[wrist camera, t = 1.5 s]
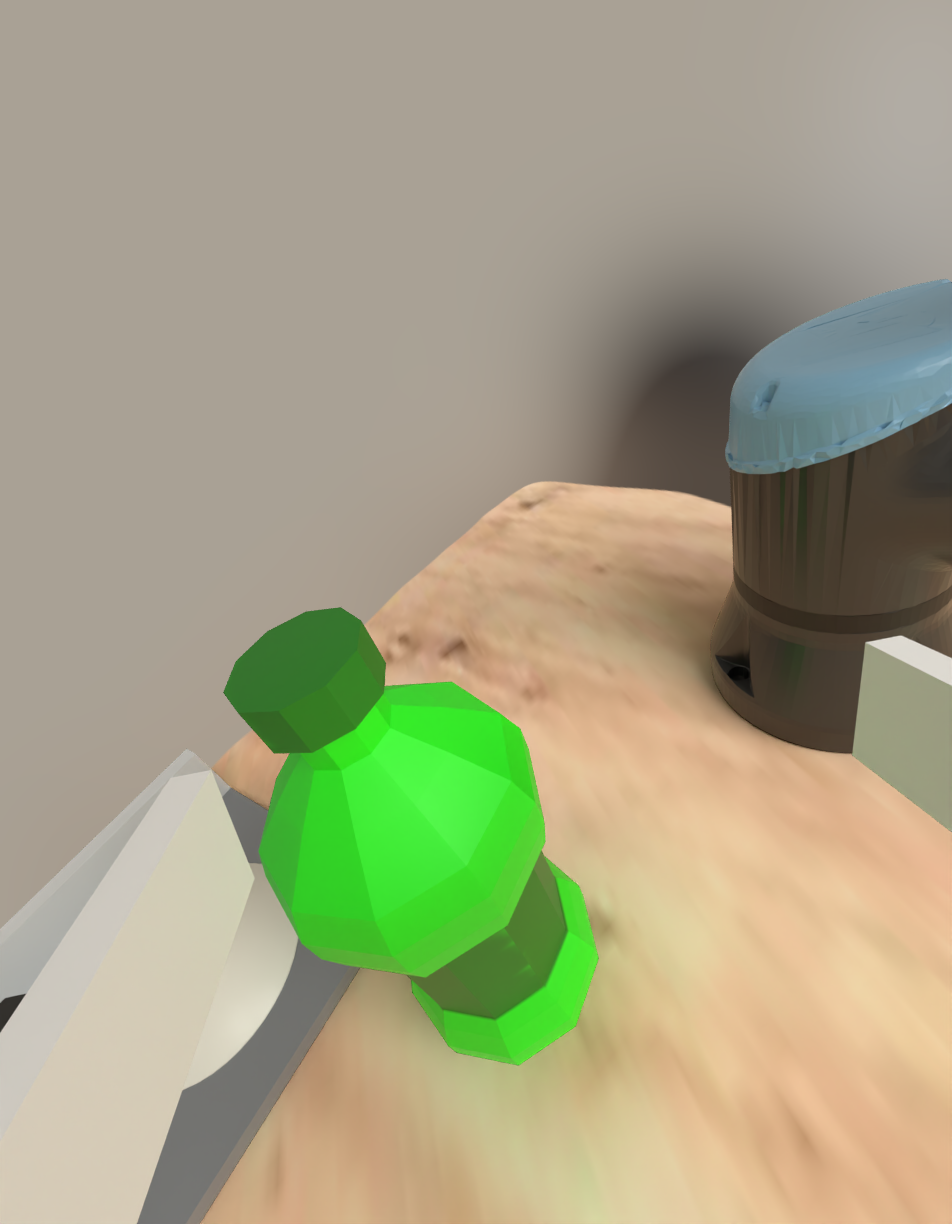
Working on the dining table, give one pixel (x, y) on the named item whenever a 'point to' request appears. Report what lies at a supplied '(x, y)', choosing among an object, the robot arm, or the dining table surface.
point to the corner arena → (238, 1018)
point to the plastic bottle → (414, 838)
